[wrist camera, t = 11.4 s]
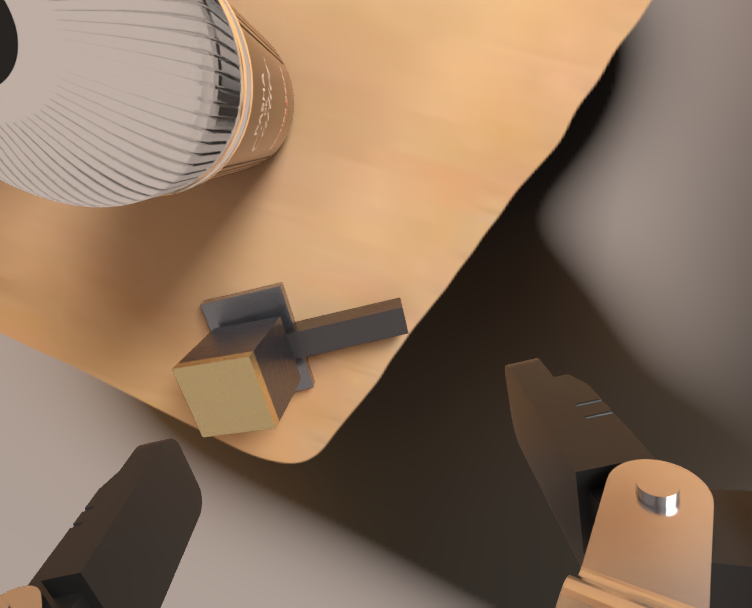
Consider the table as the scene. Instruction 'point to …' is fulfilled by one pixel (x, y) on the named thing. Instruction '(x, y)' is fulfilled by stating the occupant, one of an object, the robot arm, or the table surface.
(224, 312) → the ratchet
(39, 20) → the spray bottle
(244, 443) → the table surface
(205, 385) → the khaki matte cube
